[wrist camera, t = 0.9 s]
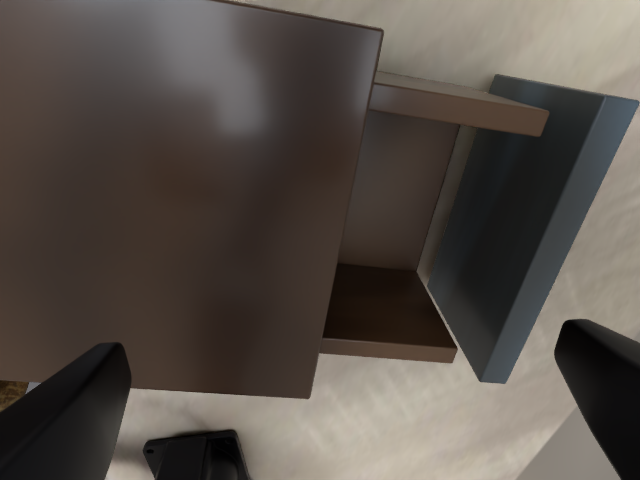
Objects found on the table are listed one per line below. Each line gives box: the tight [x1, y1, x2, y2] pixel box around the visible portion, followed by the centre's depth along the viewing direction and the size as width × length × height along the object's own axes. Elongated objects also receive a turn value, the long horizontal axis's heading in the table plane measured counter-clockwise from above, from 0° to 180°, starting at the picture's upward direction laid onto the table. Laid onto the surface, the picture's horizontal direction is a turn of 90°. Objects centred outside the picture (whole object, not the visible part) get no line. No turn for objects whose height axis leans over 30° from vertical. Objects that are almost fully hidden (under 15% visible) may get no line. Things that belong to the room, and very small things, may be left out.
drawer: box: [319, 71, 640, 384], centre depth 17 cm, size 15×11×7 cm
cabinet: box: [0, 0, 384, 399], centre depth 16 cm, size 15×13×9 cm
